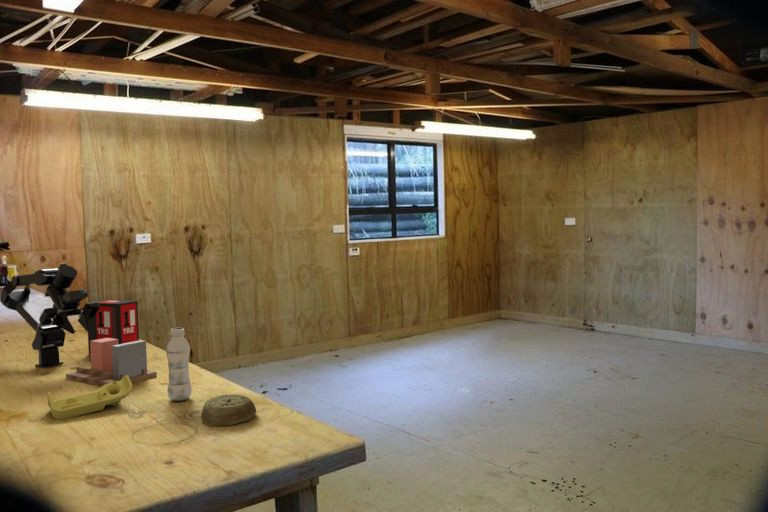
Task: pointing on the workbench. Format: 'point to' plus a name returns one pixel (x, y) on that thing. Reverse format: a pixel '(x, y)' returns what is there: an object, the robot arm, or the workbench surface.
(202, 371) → the workbench surface
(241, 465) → the workbench surface
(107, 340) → the pink rectangular block
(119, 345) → the end stop
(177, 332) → the plastic bottle
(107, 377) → the wooden pallet
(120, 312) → the cleaning product box
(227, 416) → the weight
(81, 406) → the plastic component
